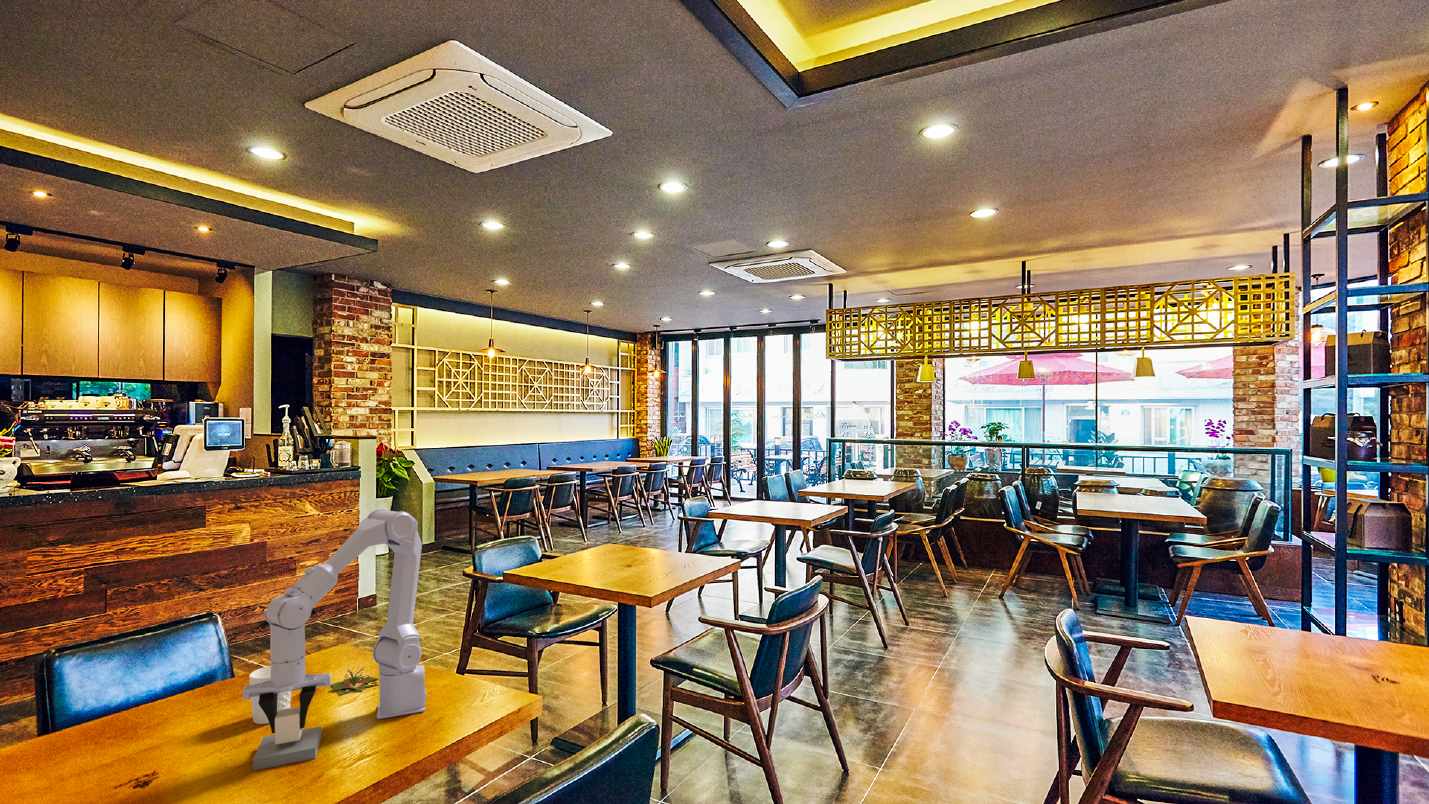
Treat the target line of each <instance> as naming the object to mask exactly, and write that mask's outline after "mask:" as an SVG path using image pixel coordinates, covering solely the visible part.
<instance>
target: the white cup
mask: <svg viewBox="0 0 1429 804" xmlns="http://www.w3.org/2000/svg"><path fill="white" fill-rule="evenodd" d="M248 677H249V678H248V679H249V685H254V684H258V683H262V682H266V681H270V680H271V665H269V666H266V667H262V668H258V669H256V670H254V671H252V672H251V673H250V674H249V675H248ZM258 701H259V696H256V697H250V704H251V705H250V706H251V707H250V708H251V711H252V712H251V713H252V721H253V723H254V724H257V725H267V724H269V721H268V719H267V716H266V715H265V713H264V711H263V710H262V708H261V707H260V706H259V703H258ZM291 701H292V691H288V692H282V693H278V697H277V712H278V710H282V709H288V708H291Z"/></svg>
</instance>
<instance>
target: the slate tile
mask: <svg viewBox="0 0 1429 804" xmlns="http://www.w3.org/2000/svg"><path fill="white" fill-rule="evenodd" d="M322 736H323V735H322V726H316V727H311V728H310V727H309V728H303V729H302V734H301V737H300V740H298V741H292V742H287V743H281V744H276V745H275V734H272V735H270V734H269V735H265V736H264V735H263V737H262V739H261V741H260V744H259V745H258V748H257V750H256V752H255V755H254V756H253V758H252V771H258V770H264V769H268V768H273V767H279V766H283V765H284V766H285V765H290V764H293V763H299V762H304V761H305V762H306V761H310V760H314V759H315V760H316V758H317V754H318V752H319V747H320V742H321V740H322Z"/></svg>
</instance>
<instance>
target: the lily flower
mask: <svg viewBox="0 0 1429 804" xmlns="http://www.w3.org/2000/svg"><path fill="white" fill-rule="evenodd" d="M358 668H360V666H358V667H357V669H358ZM364 668H365V666H362V667H361V668H360V669H359V670H355V671H351V670H350V669H349V668H347V670H346V672H347V673H345V675H344V676H343V677H344V678H345V679H343V680H342V681H337V682H334V683H331V686H332V688H330V690H329V691H327V693H329V692H332V691H335V690H338V695H339V696H341V695H344V694H346V693H349V692H352V691H355V690H356V691H357V690H358V691H360V692H363V691H364V690H365V688H367V687H369V685H367V684H365V683H367V682H373V683H371V684H379V682H377V681H373V679H374V680H379V678H378V677H373V676H370V675H369V674H366V675H364V676H363V674H364V672H362V671H364ZM352 669H354V667H352ZM354 672H355V673H354ZM348 673H349V674H350V676H351V677H350V676H349V675H348ZM359 673H360V674H359ZM358 674H359V675H358ZM365 676H368V677H366V678H364V677H365ZM360 679H361V680H360ZM361 683H362V684H361ZM356 684H359V685H358V686H356ZM360 684H361V685H360ZM351 685H352V687H350V686H351ZM373 686H375V685H373ZM347 689H349V690H347Z"/></svg>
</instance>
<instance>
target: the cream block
mask: <svg viewBox="0 0 1429 804" xmlns="http://www.w3.org/2000/svg"><path fill="white" fill-rule="evenodd" d="M302 730H303V728H301V729H300V706H295V707H294V706H293V707H290V708H288V709H282V710H278V712H277V715H276V717H275V733H274V735H275V745H276V744H281V743H287V742H292V741H298V740H300V737H301V734H302Z"/></svg>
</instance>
